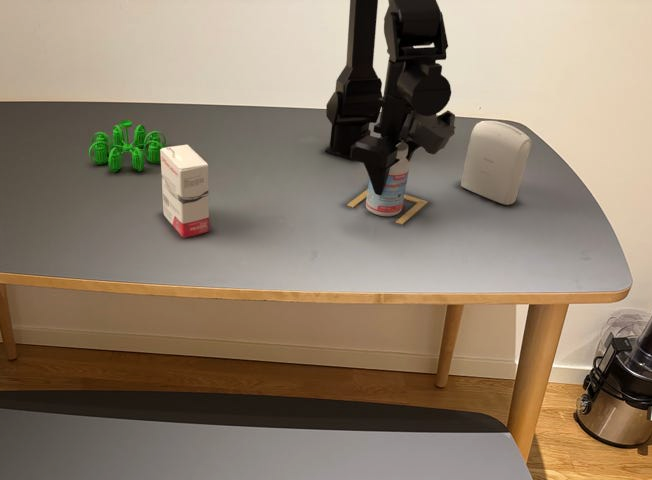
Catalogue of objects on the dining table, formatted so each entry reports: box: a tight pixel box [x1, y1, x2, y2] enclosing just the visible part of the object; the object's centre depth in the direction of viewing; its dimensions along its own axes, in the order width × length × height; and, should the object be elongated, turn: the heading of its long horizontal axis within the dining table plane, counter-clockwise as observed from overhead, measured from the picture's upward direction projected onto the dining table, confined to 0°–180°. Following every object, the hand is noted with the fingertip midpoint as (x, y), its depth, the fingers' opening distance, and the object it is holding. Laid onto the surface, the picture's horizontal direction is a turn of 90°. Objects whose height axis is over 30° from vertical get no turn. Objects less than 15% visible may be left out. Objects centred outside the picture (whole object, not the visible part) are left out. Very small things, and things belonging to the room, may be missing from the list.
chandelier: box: [88, 119, 167, 173], centre depth 137 cm, size 15×15×7 cm
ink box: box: [160, 143, 210, 239], centre depth 117 cm, size 8×5×12 cm, turn 26°
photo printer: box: [460, 120, 532, 206], centre depth 125 cm, size 10×4×12 cm, turn 39°
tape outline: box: [346, 188, 429, 226], centre depth 125 cm, size 10×9×1 cm
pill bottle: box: [365, 142, 410, 217], centre depth 121 cm, size 6×6×11 cm
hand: (387, 187), depth 122 cm, fingers closed on pill bottle, 6 cm apart
